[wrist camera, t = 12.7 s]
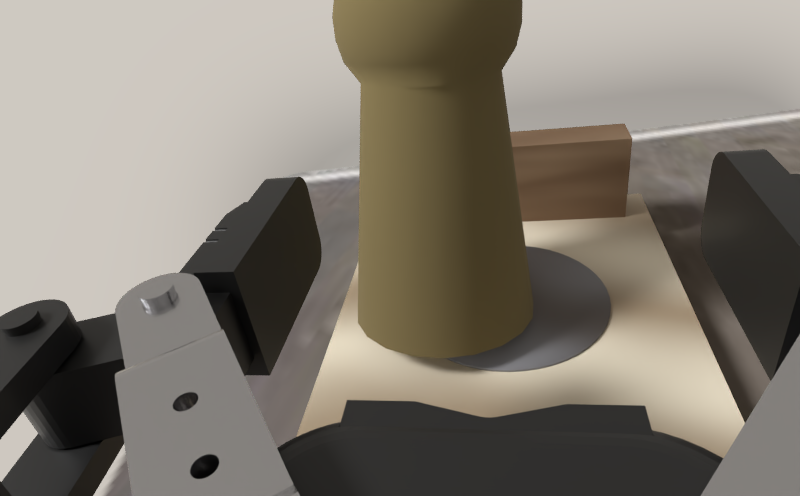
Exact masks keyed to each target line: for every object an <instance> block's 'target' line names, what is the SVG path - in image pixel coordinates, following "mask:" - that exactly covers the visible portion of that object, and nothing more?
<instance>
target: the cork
mask: <svg viewBox="0 0 800 496" xmlns="http://www.w3.org/2000/svg"><path fill="white" fill-rule="evenodd" d="M333 24H334V32H335V38H336V43H337V45H338V48H339V51H340V53H341V56H342V59H343V62H344V63H345V65H346V66H347V67H348V68H349V70H350V71H351V72H352V73H353V74H354V76H355V77H356V78H357V79H358V81H359V82H360V83H361V109H360V183H359V258H358V324H359V325H360V327H361V328H362V330H363V331H364V333H365V334H366V336H367V337H368V338H370V339H372V340H373V341H375V342H376V343H378V344H379V345H381V346H383V347H384V348H386V349H389V350H393V351H396V352H400V353H403V354H406V355H410V356H417V357H431V358H451V357H460V356H468V355H475V354H478V353H481V352H485V351H488V350H491V349H494V348H497V347H500V346H502V345H504V344H506V343H507V342H509V341H510V340H512V339H513V338H515V337H516V336H518V335H520V334H521V333H522V332H523V331H524V329H525V328H526V327H527V325H528V324H529V322H530V321H531V320H532V318H533V304H534V303H533V296H532V288H531V281H530V274H529V267H528V259H527V252H526V245H525V237H524V230H523V223H522V216H521V208H520V201H519V194H518V187H517V179H516V172H515V165H514V157H513V150H512V143H511V136H510V128H509V122H508V114H507V106H506V99H505V92H504V85H503V77H502V69H503V67H504V66H505V64H506V62H507V61H508V59H509V57H510V56H511V54H512V52H513V51H514V49H515V47H516V45H517V40H518V37H519V32H520V28H521V24H522V0H334V5H333Z"/></svg>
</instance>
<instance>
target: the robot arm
mask: <svg viewBox="0 0 800 496" xmlns="http://www.w3.org/2000/svg"><path fill="white" fill-rule="evenodd" d="M701 244H702V251H703V255H704V257H705V260H706V262H707V263H708V265H709V267H710V269H711V271H712V273H713V275H714V276H715V278H716V280H717V282H718V284H719V286H720V288H721V289H722V291H723V293H724V295H725V297H726V299H727V301H728V302H729V304H730V306H731V308H732V310H733V312H734V314H735V316H736V317H737V319H738V321H739V323H740V325H741V327H742V329H743V330H744V332H745V334H746V336H747V338H748V340H749V342H750V343H751V345H752V347H753V349H754V351H755V353H756V355H757V356H758V358H759V360H760V362H761V364H762V366H763V368H764V369H765V371H766V373H767V375H768V377H769V379H770V381H771V382H770V383H769V385H768V387H767V388H766V390H765V392H764V393H763V395H762V397H761V398H760V400H759V401H758V403H757V405H756V406H755V408H754V410H753V411H752V413H751V414H750V416H749V418H748V419H747V421H746V423H745V424H744V426H743V427H742V429H741V431H740V432H739V434H738V436H737V437H736V439H735V441H734V442H733V444H732V445H731V447H730V449H729V450H728V452H727V454H726V455H725V457H724V458H722V457H720V456H718V455H716V454H714V453H712V452H711V451H709V450H707V449H705V448H703V447H701V446H698V445H696V444H693V443H691V442H689V441H686V440H684V439H681V438H678V437H675V436H672V435H669V434H666V433H662V432H658V431H654V430H652V429H651V425H650V421H649V418H648V414H647V410H646V407H645V406H641V405H588V404H564V405H559V406H553V407H548V408H542V409H537V410H531V411H526V412H521V413H515V414H510V415H504V416H499V417H492V418H489V417H480V416H476V415H471V414H467V413H463V412H459V411H454V410H450V409H446V408H442V407H437V406H433V405H429V404H425V403H420V402H416V401H377V400H347V402H346V405H345V409H344V412H343V416H342V419H341V422H338V423H333V424H330V425H326V426H323V427H320V428H316V429H314V430H311V431H309V432H306V433H304V434H302V435H300V436H298V437H296V438H294V439H292V440H290V441H288V442H286V443H285V444H283V445H281V446H280V447H278V448H277V447H276V445H275V443H274V440H273V438H272V436H271V434H270V432H269V429H268V427H267V425H266V423H265V420H264V418H263V416H262V414H261V412H260V409H259V407H258V405H257V403H256V401H255V398H254V396H253V394H252V392H251V389H250V387H249V385H248V383H247V381H246V378H245V375H270V374H271V372H272V370H273V367H274V365H275V363H276V361H277V359H278V357H279V354H280V352H281V350H282V348H283V346H284V344H285V341H286V339H287V337H288V335H289V333H290V331H291V328H292V326H293V324H294V322H295V320H296V318H297V315H298V313H299V311H300V309H301V307H302V305H303V302H304V300H305V298H306V296H307V294H308V291H309V289H310V287H311V285H312V283H313V281H314V278H315V276H316V274H317V272H318V270H319V267H320V263H321V242H320V237H319V233H318V229H317V225H316V221H315V217H314V213H313V209H312V204H311V200H310V196H309V192H308V188H307V185H306V183H305V181H304V180H303V179H302V178H301V177H291V178H275V179H266V180H265V181H264V182H263V183H262V184H261V186H260V187H259V188H258V190H257V191H256V192H255V193H254V195H253V196H252V197H251V199H250V200H249V201H248V202H244V203H243V204H241V205H240V206H239V207H237V208H235V209H234V210H232V211H231V212H229V213H228V214H226V215H225V217H224V218H223V219H222V220H221V221H220V223H219V224H218V225H217V226H216V228H215V231H212V233H211V234H210V235H209V236H208V237H207V239H206V242H205V243H203V244H202V245H201V246H200V247H199V249H198V250H197V251H196V253H195V254H194V255H193V256H192V257H191V258H190V260H189V261H188V262H187V263H186V265H185V266H184V267H183V268H182V270H181V271H180V272H179V273H171V274H166V275H161V276H158V277H155V278H152V279H150V280H147V281H145V282H143V283H141V284H139V285H137V286H136V287H134V288H133V289H131V290H130V291H128V292H127V293H126V294H125V295H124V296H123V297H122V298H121V299H120V301H119V302H118V304H117V306H116V309H115V314H110V315H106V316H101V317H97V318H92V319H88V320H84V321H79V322H76V320H75V318H74V316H73V315H72V313H71V311H70V309H69V307H68V306H67V304H66V303H64V302H63V301H60V300H42V301H37V302H33V303H29V304H26V305H24V306H21V307H18V308H16V309H14V310H12V311H10V312H8V313H6V314H4V315H2V316H1V317H0V439H1V437H2V436H3V435H4V434H5V433H6V431H7V430H8V429H9V428H10V426H11V425H12V424H13V423H14V422H15V421H16V419H17V418H18V417H19V416H20V414H21V413H22V412H24V413H25V415H26V416H27V418H28V419H29V421H30V422H31V423H32V425H33V426H34V428H35V429H36V430H37V432H38V435H37V436H36V437H35V439H34V440H33V441H32V443H31V444H30V445H29V446H28V448H27V449H26V450H25V452H24V453H23V454H22V456H21V457H20V458H19V460H18V461H17V462H16V464H15V465H14V466H13V467H12V469H11V470H10V472H9V473H8V474H7V476H6V477H5V478H4V480H3V481H2V482H0V496H93V495H94V493H95V491H96V489H97V488H98V486H99V485H100V483H101V481H102V480H103V478H104V476H105V475H106V473H107V471H108V469H109V468H110V466H111V465H112V463H113V461H114V460H115V458H116V456H117V454H118V453H119V451H120V449H121V448H122V446H123V444H125V451H126V457H127V464H128V471H129V478H130V484H131V491H132V496H800V174H790V173H789V172H788V171H787V170H786V169H785V168H784V167H783V166H782V165H781V164H780V163H779V162H778V161H777V160H776V159H775V158H774V157H773V156H772V155H771V154H770V153H769V152H768V151H767V150H765V149H762V150H746V151H730V152H719V153H718V154H717V155H716V156H715V158H714V160H713V164H712V168H711V174H710V180H709V186H708V191H707V197H706V203H705V209H704V215H703V221H702V227H701Z"/></svg>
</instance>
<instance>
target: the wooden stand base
mask: <svg viewBox="0 0 800 496" xmlns="http://www.w3.org/2000/svg"><path fill="white" fill-rule="evenodd" d="M510 136H511V143H512V150H513V157H514V165H515V172H516V179H517V187H518V194H519V201H520V208H521V216H522V223H523V230H524V237H525V245H526V252H527V259H528V267H529V274H530V281H531V288H532V296H533V303H534V304H533V318H532V320H531V321H530V322H529V324H528V325H527V327H526V328H525V329H524V331H523V332H522V333H521V334H520V335H518V336H516V337H515V338H513V339H512V340H510V341H509V342H507V343H506V344H504V345H502V346H500V347H497V348H494V349H491V350H488V351H485V352H481V353H478V354H475V355H468V356H460V357H451V358H431V357H417V356H410V355H406V354H403V353H400V352H396V351H393V350H389V349H386V348H384V347H383V346H381V345H379V344H378V343H376V342H375V341H373V340H372V339H370V338H368V337H367V336H366V334H365V333H364V331H363V330H362V328H361V327H360V325H359V324H358V265H357V267H356V270H355V273H354V276H353V279H352V281H351V284H350V287H349V290H348V293H347V296H346V298H345V301H344V304H343V307H342V310H341V312H340V315H339V318H338V321H337V324H336V327H335V329H334V332H333V335H332V338H331V341H330V343H329V346H328V349H327V352H326V355H325V357H324V360H323V363H322V366H321V369H320V372H319V374H318V377H317V380H316V383H315V386H314V388H313V391H312V394H311V397H310V400H309V403H308V405H307V408H306V411H305V414H304V417H303V419H302V422H301V425H300V428H299V431H298V434H297V436H296V437H298V436H300V435H302V434H304V433H306V432H309V431H311V430H314V429H316V428H320V427H323V426H326V425H330V424H333V423H338V422H341V419H342V416H343V412H344V409H345V405H346V402H347V400H377V401H416V402H420V403H425V404H429V405H433V406H437V407H442V408H446V409H450V410H454V411H459V412H463V413H467V414H471V415H476V416H480V417H489V418H492V417H499V416H504V415H510V414H515V413H521V412H526V411H531V410H537V409H542V408H548V407H553V406H559V405H564V404H588V405H641V406H645V407H646V410H647V414H648V418H649V421H650V425H651V429H652V430H654V431H658V432H662V433H666V434H669V435H672V436H675V437H678V438H681V439H684V440H686V441H689V442H691V443H693V444H696V445H698V446H701V447H703V448H705V449H707V450H709V451H711V452H712V453H714V454H716V455H718V456H720V457H722V458H724V457H725V455H726V454H727V452H728V450H729V449H730V447H731V445H732V444H733V442H734V441H735V439H736V437H737V436H738V434H739V432H740V431H741V429H742V427H743V426H744V424H745V422H744V420H743V418H742V415H741V413H740V411H739V409H738V407H737V404H736V402H735V400H734V398H733V396H732V393H731V391H730V389H729V387H728V385H727V382H726V380H725V378H724V376H723V374H722V372H721V369H720V367H719V365H718V363H717V361H716V358H715V356H714V354H713V352H712V350H711V347H710V345H709V343H708V341H707V339H706V336H705V334H704V332H703V330H702V328H701V325H700V323H699V321H698V319H697V317H696V314H695V312H694V310H693V308H692V306H691V303H690V301H689V299H688V297H687V295H686V292H685V290H684V288H683V286H682V284H681V282H680V279H679V277H678V275H677V273H676V271H675V268H674V266H673V264H672V262H671V260H670V257H669V255H668V253H667V251H666V249H665V246H664V244H663V242H662V240H661V238H660V235H659V233H658V231H657V229H656V227H655V224H654V222H653V220H652V218H651V216H650V213H649V211H648V209H647V207H646V205H645V202H644V200H643V198H642V196H641V194H627V192H628V180H629V169H630V157H631V146H632V137H631V135H630V134H629V132H628V130H627V128H626V126H625V124H613V125H599V126H586V127H573V128H559V129H545V130H532V131H519V132H510Z"/></svg>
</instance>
